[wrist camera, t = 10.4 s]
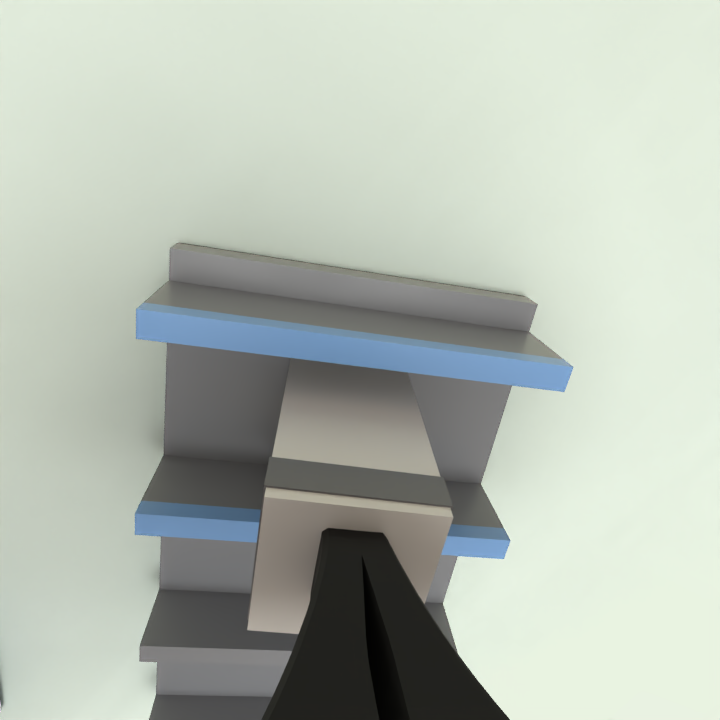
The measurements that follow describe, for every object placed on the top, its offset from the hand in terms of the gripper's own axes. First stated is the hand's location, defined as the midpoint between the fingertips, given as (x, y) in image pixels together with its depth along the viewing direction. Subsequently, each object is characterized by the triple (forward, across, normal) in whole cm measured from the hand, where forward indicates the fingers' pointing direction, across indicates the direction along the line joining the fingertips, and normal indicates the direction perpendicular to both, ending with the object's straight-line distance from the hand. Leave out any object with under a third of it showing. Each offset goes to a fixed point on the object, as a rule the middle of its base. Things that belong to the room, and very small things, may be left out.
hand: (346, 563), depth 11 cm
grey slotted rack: (+8, 0, +6) cm, 10 cm away
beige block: (+7, 0, 0) cm, 7 cm away
